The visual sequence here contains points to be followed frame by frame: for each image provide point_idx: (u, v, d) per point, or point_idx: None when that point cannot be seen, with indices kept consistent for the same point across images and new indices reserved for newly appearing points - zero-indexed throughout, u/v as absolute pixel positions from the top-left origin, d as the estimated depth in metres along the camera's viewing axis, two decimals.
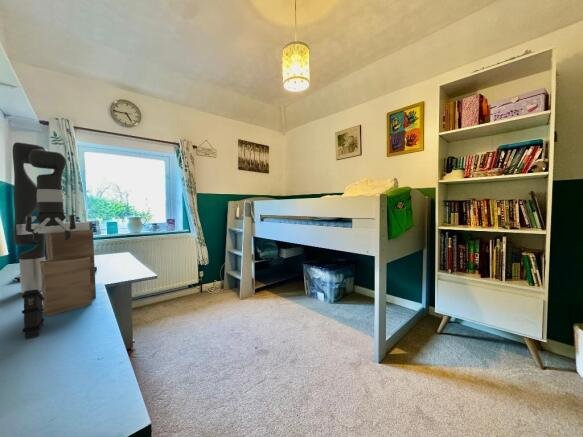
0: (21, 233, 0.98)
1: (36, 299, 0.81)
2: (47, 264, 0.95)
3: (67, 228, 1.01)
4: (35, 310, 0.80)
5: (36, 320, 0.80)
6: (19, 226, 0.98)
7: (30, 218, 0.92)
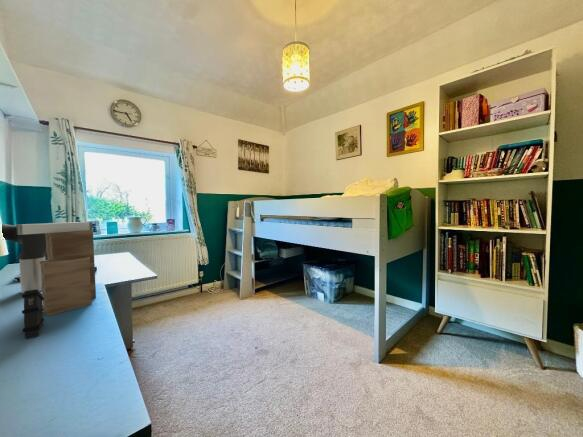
0: (21, 233, 0.98)
1: (36, 299, 0.81)
2: (47, 264, 0.95)
3: None
4: (35, 310, 0.80)
5: (36, 320, 0.80)
6: (19, 226, 0.98)
7: None
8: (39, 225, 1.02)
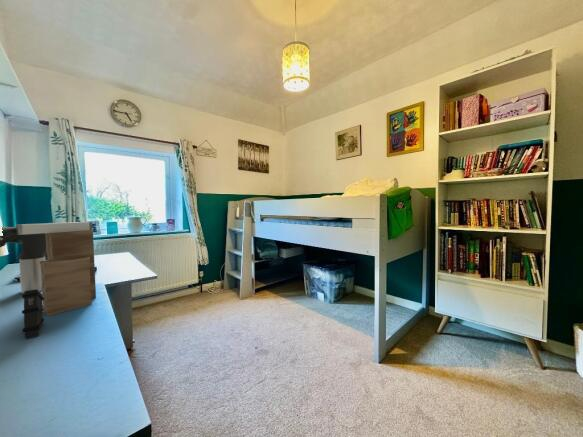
0: (21, 233, 0.98)
1: (36, 299, 0.81)
2: (47, 264, 0.95)
3: None
4: (35, 310, 0.80)
5: (36, 320, 0.80)
6: (19, 226, 0.98)
7: None
8: (39, 225, 1.02)
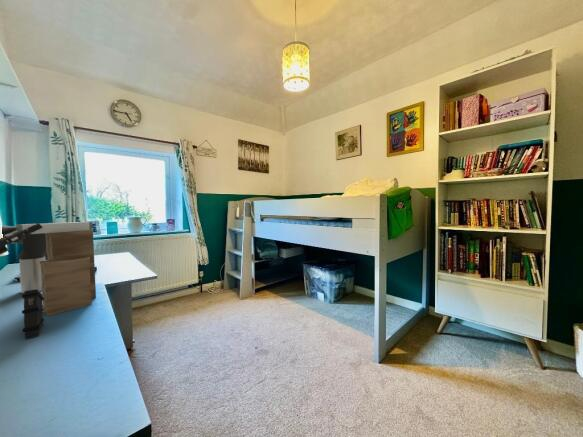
0: None
1: (36, 299, 0.81)
2: (47, 264, 0.95)
3: None
4: (35, 310, 0.80)
5: (36, 320, 0.80)
6: (19, 226, 0.98)
7: None
8: None
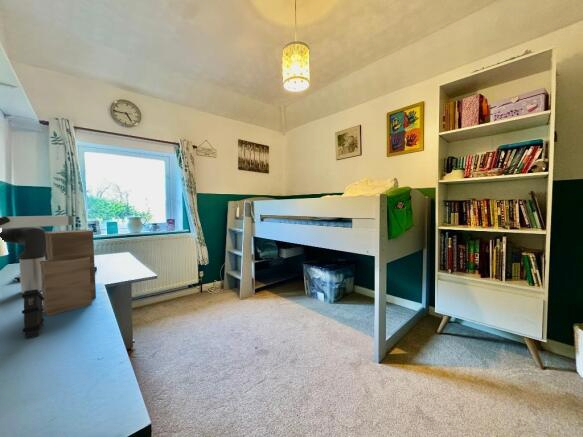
0: None
1: (36, 299, 0.81)
2: (47, 264, 0.95)
3: None
4: (35, 310, 0.80)
5: (36, 320, 0.80)
6: None
7: None
8: None
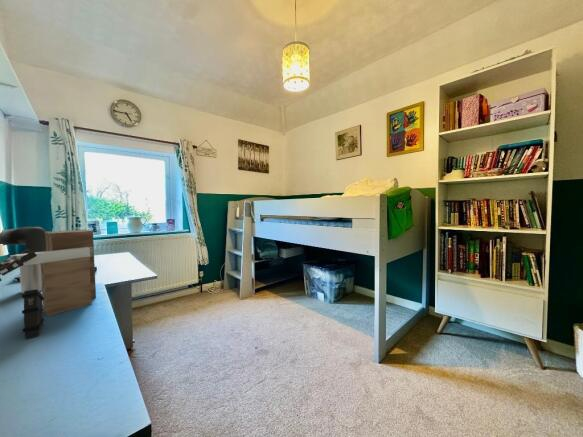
0: None
1: (36, 299, 0.81)
2: (47, 264, 0.95)
3: None
4: (35, 310, 0.80)
5: (36, 320, 0.80)
6: (13, 257, 0.89)
7: None
8: None
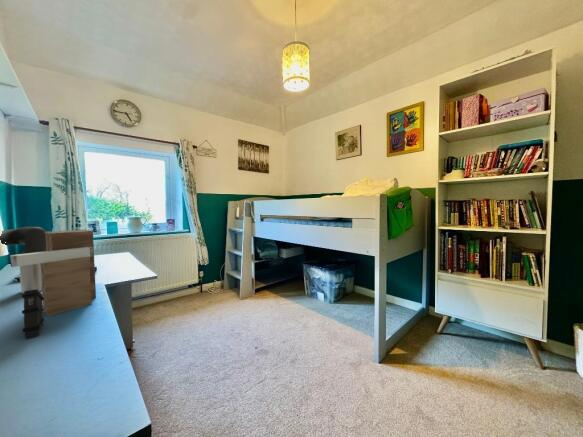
0: (15, 265, 0.90)
1: (36, 299, 0.81)
2: (47, 264, 0.95)
3: None
4: (35, 310, 0.80)
5: (36, 320, 0.80)
6: (13, 257, 0.89)
7: None
8: (35, 255, 0.94)
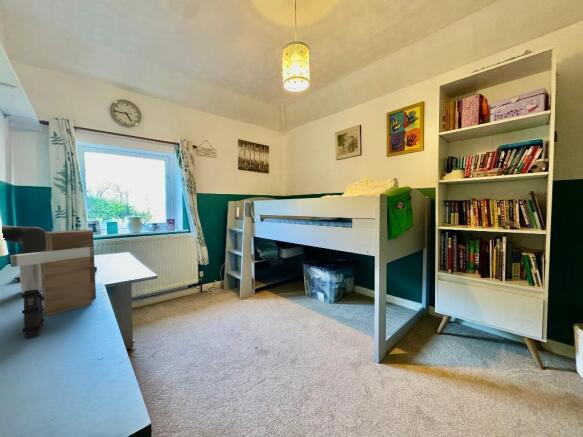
0: (15, 265, 0.90)
1: (36, 299, 0.81)
2: (47, 264, 0.95)
3: None
4: (35, 310, 0.80)
5: (36, 320, 0.80)
6: (13, 257, 0.89)
7: None
8: (35, 255, 0.94)
